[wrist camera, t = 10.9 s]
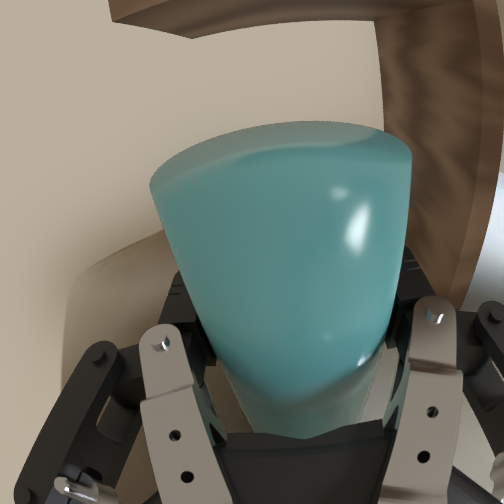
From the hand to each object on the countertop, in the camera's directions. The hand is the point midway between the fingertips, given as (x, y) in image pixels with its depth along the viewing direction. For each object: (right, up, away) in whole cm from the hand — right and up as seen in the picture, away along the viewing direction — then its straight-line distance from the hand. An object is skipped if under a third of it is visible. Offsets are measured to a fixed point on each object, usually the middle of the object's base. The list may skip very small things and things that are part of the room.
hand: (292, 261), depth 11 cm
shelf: (+4, 0, +10) cm, 11 cm away
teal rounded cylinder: (+1, -6, +1) cm, 7 cm away
